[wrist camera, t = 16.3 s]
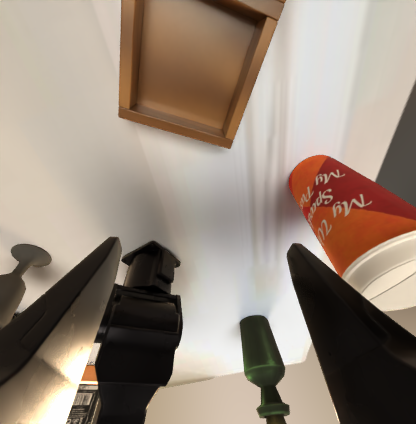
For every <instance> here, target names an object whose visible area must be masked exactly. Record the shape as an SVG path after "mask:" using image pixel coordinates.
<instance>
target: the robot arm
mask: <svg viewBox="0 0 416 424" xmlns="http://www.w3.org/2000/svg"><path fill="white" fill-rule="evenodd" d="M121 252H122V247H121V244H120V240H119V238H118V237H109V238H108V239H106V240H105V241H104V242H103V243H102V244H101V245H100V246H98V247H97V248H96V249H95V250H94V251H93V252H92V253H90V254H89V255H88V256H87V257H86V258H85V259H83V260H82V261H81V262H80V263H79V264H78V265H77V266H75V267H74V268H73V269H72V270H71V271H70V272H69V273H67V274H66V275H65V276H64V277H63V278H62V279H61V280H59V281H58V282H57V283H56V284H55V285H54V286H52V287H51V288H50V289H49V290H48V291H47V292H46V293H45V294H43V295H42V296H41V297H40V298H39V299H37V300H36V301H35V302H34V303H33V304H32V305H30V306H29V307H28V308H27V309H26V310H24V311H23V312H22V313H21V314H20V315H18V316H17V317H16V318H14V319H13V320H12V321H11V322H9V323H8V324H7V325H5V326H4V327H3V328H1V329H0V424H66V421H67V418H68V415H69V412H70V409H71V406H72V404H73V401H74V398H75V395H76V392H77V389H78V386H79V383H80V380H81V378H82V375H83V372H84V369H85V366H86V363H87V360H88V358H89V355H90V352H91V349H92V346H93V343H101V344H100V348H99V351H98V354H97V357H96V361H95V372H96V378H97V384H98V390H99V396H100V402H99V405H98V409H97V412H96V416H95V419H94V423H93V424H144V422H145V417H146V412H147V407H148V405H149V404H150V402H151V400H152V399H153V397H154V396H155V394H156V393H157V391H158V390H159V388H160V387H161V386H166V385H167V383H168V381H169V379H170V377H171V375H172V371H173V362H174V354H175V350H176V349H177V348H178V346H179V343H180V340H181V336H182V329H183V318H182V308H181V298H180V295H171V294H170V293H171V283H173V280H174V269H175V268H177V267H179V266H180V261H178V260H177V259H176V258H175V257H173V256H172V255H171V254H170V253H168V252H167V251H166V250H165V249H163V248H162V247H161V246H160V245H158V244H157V243H156V242H154V241H151V242H149V243H147V244H145V245H144V246H142V247H140V248H138V249H136V250H135V251H133V252H131V253H129V254H127V255H125V256H124V257H122V260H121V261H122V262H123V263H125V264H127V265H128V266H129V268H128V271H127V274H126V277H125V281H124V284H123V286H122V285H118V284H115V279H116V275H117V271H118V266H119V261H120V257H121ZM287 260H288V265H289V269H290V274H291V278H292V282H293V286H294V289H295V292H296V295H297V298H298V301H299V304H300V307H301V310H302V313H303V316H304V319H305V321H306V324H307V327H308V330H309V333H310V336H311V339H312V342H313V345H314V348H315V351H316V354H317V357H318V360H319V363H320V366H321V369H322V371H323V375H324V378H325V381H326V384H327V387H328V390H329V393H330V396H331V399H332V402H333V405H334V408H335V411H336V414H337V417H338V420H339V423H340V424H416V337H415V336H414V335H412V334H411V333H410V332H408V331H407V330H406V329H404V328H403V327H401V326H400V325H399V324H398V323H396V322H395V321H394V320H392V319H391V318H390V317H389V316H387V315H386V314H385V313H383V312H382V311H381V310H380V309H378V308H377V307H376V306H375V305H373V304H372V303H371V302H370V301H369V300H367V299H366V298H365V297H364V296H362V295H361V294H360V293H359V292H358V291H357V290H355V289H354V288H353V287H352V286H351V285H349V284H348V283H347V282H346V281H345V280H344V279H342V278H341V277H340V276H339V275H338V274H336V273H335V272H334V271H333V270H332V269H330V268H329V267H328V266H327V265H326V264H324V263H323V262H322V261H321V260H320V259H319V258H317V257H316V256H315V255H314V254H313V253H311V252H310V251H309V250H308V249H307V248H305V247H304V246H303V245H302V244H299V243H293V244H292V245H291V247H290V249H289V250H288V252H287Z"/></svg>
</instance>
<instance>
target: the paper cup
mask: <svg viewBox="0 0 416 424" xmlns="http://www.w3.org/2000/svg"><path fill="white" fill-rule="evenodd" d="M289 188H290V191H291V193H292V195H293V197H294V199H295V200H296V202H297V204H298V206H299V207H300V209H301V211H302V213H303V214H304V216H305V218H306V220H307V221H308V223H309V225H310V227H311V228H312V230H313V232H314V233H315V235H316V237H317V239H318V240H319V242H320V244H321V246H322V247H323V249H324V251H325V252H326V254H327V256H328V258H329V259H330V261H331V263H332V264H333V266H334V268H335V270H336V271H337V273H338V275H339V276H340V277H341V278H342V279H344V280H345V281H346V282H347V283H348V284H349V285H351V286H352V287H353V288H354V289H355V290H357V291H358V292H359V293H360V294H361V295H362V296H364V297H365V298H366V299H367V300H369V301H370V302H371V303H372V304H373V305H375V306H376V307H377V308H378V309H380V310H381V311H392V310H399V309H405V308H409V307H413V306H416V208H415V207H414V206H412V205H411V204H409V203H407V202H406V201H404V200H403V199H401V198H399V197H398V196H396V195H395V194H393V193H391V192H390V191H388V190H387V189H385V188H383V187H382V186H380V185H379V184H377V183H375V182H374V181H372V180H370V179H368V178H366V177H365V176H363V175H361V174H359V173H357V172H356V171H354V170H352V169H351V168H349V167H347V166H346V165H344V164H342V163H340V162H339V161H337V160H335V159H333V158H331V157H329V156H326V155H316V156H312V157H309V158H307V159H305V160H304V161H302V162H301V163H299V164H298V165H297V166H296V167H295V168H294V170H293V171H292V173H291V175H290V178H289Z"/></svg>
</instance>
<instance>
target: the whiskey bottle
mask: <svg viewBox="0 0 416 424" xmlns="http://www.w3.org/2000/svg"><path fill="white" fill-rule="evenodd" d="M99 402H100V396H99V390H98V384H97V378H96V372H95V366H89V365H86V366H85V369H84V372H83V375H82V378H81V380H80V383H79V386H78V389H77V392H76V395H75V398H74V401H73V404H72V406H71V409H70V412H69V415H68V418H67V421H66V424H93V423H94V419H95V416H96V412H97V409H98V405H99Z"/></svg>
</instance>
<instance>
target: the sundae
mask: <svg viewBox="0 0 416 424" xmlns="http://www.w3.org/2000/svg"><path fill="white" fill-rule="evenodd" d="M11 253H12V256H13V257H14V258H15V259H16V260H17V261H19V264H18V265H17V267H16V268H15V269H14V270H13V272H12V273H9V274H4V275H0V329H1V328H3V327H4V326H5V325H7V324H8V323H9V322H10V321H11V319H12V317H13V315H14V313H15V311H16V309H17V307H18V306H19V304H20V302H21V300H22V298H23V295H24V293H25V290H26V287H25V283H24V281H23V280H22V278H21V277H22V275H23V274H24V273H25V271H26V270H27V269H28V268H29V267H31V266H35V267H43V266H46V265H48V264H50V262H51V257H50V255H49V254H48V253H47V252H46V251H44V250H43V249H41V248H39V247H36V246H33V245H27V244H20V245H16V246H14V247H12V249H11Z"/></svg>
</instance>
